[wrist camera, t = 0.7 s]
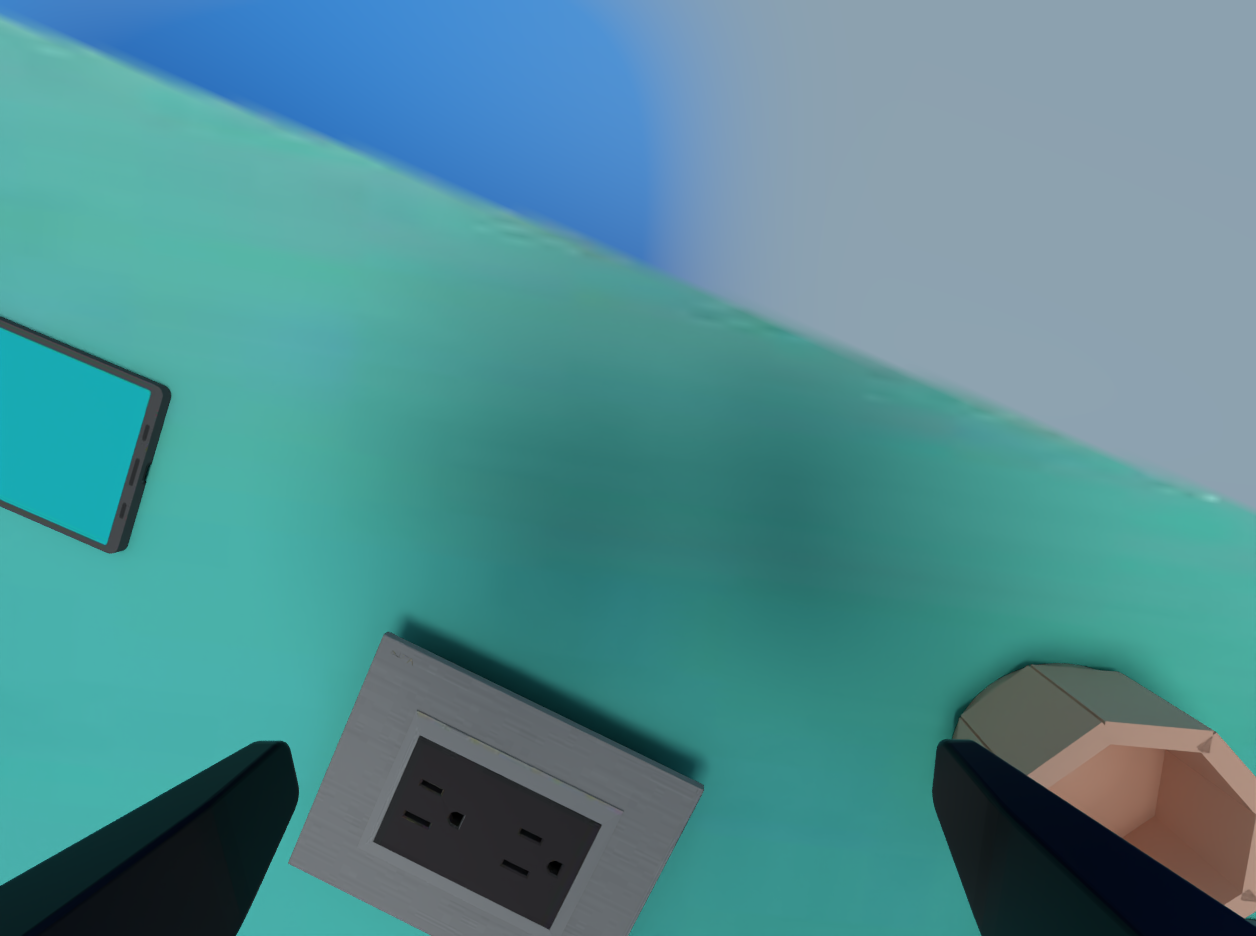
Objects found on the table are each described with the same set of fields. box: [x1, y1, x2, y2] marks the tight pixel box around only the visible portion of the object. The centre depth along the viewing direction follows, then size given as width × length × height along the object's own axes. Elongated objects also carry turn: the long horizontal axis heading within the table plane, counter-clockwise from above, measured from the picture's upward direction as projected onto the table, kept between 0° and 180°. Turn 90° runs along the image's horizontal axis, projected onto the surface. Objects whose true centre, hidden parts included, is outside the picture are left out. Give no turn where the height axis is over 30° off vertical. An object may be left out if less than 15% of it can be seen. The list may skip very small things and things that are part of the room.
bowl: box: [952, 663, 1256, 918], centre depth 21 cm, size 8×8×4 cm
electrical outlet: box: [288, 632, 704, 936], centre depth 24 cm, size 13×10×2 cm
